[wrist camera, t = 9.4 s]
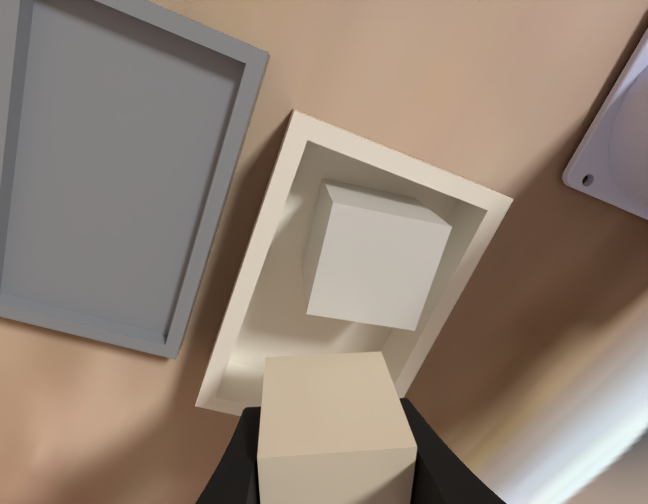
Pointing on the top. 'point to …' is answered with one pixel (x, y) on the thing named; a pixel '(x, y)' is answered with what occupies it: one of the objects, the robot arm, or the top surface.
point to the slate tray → (115, 164)
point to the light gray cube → (371, 255)
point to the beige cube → (333, 432)
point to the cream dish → (289, 250)
